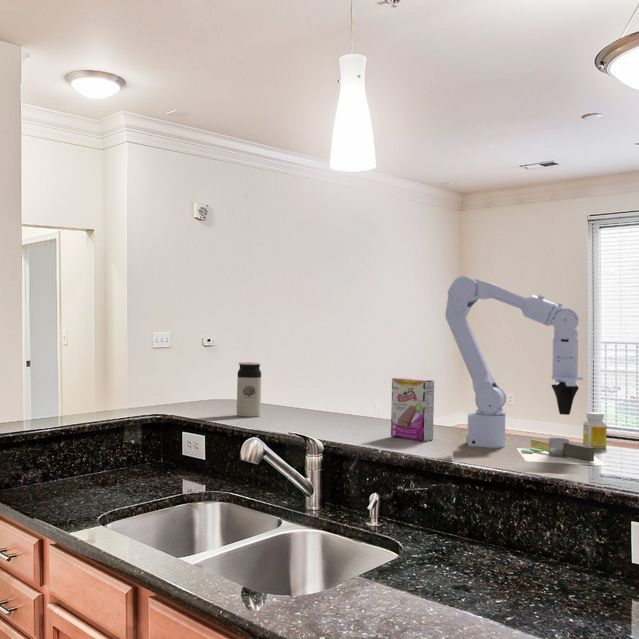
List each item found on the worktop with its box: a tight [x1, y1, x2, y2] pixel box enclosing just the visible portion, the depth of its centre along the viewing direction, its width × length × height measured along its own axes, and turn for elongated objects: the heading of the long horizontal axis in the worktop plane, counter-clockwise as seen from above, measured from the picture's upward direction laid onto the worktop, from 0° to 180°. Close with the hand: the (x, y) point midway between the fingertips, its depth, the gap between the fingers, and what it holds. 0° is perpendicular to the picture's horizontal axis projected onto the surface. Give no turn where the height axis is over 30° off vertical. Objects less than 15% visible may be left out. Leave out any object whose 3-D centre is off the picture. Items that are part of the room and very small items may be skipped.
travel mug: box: [236, 361, 262, 418], centre depth 219 cm, size 8×8×18 cm
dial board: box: [515, 447, 609, 467], centre depth 149 cm, size 17×17×1 cm
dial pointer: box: [530, 437, 595, 462], centre depth 149 cm, size 17×4×4 cm, turn 29°
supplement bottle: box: [582, 411, 607, 450], centre depth 163 cm, size 5×5×10 cm
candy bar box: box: [390, 376, 435, 442], centre depth 177 cm, size 11×5×16 cm, turn 47°
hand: (564, 414), depth 156 cm, fingers closed
